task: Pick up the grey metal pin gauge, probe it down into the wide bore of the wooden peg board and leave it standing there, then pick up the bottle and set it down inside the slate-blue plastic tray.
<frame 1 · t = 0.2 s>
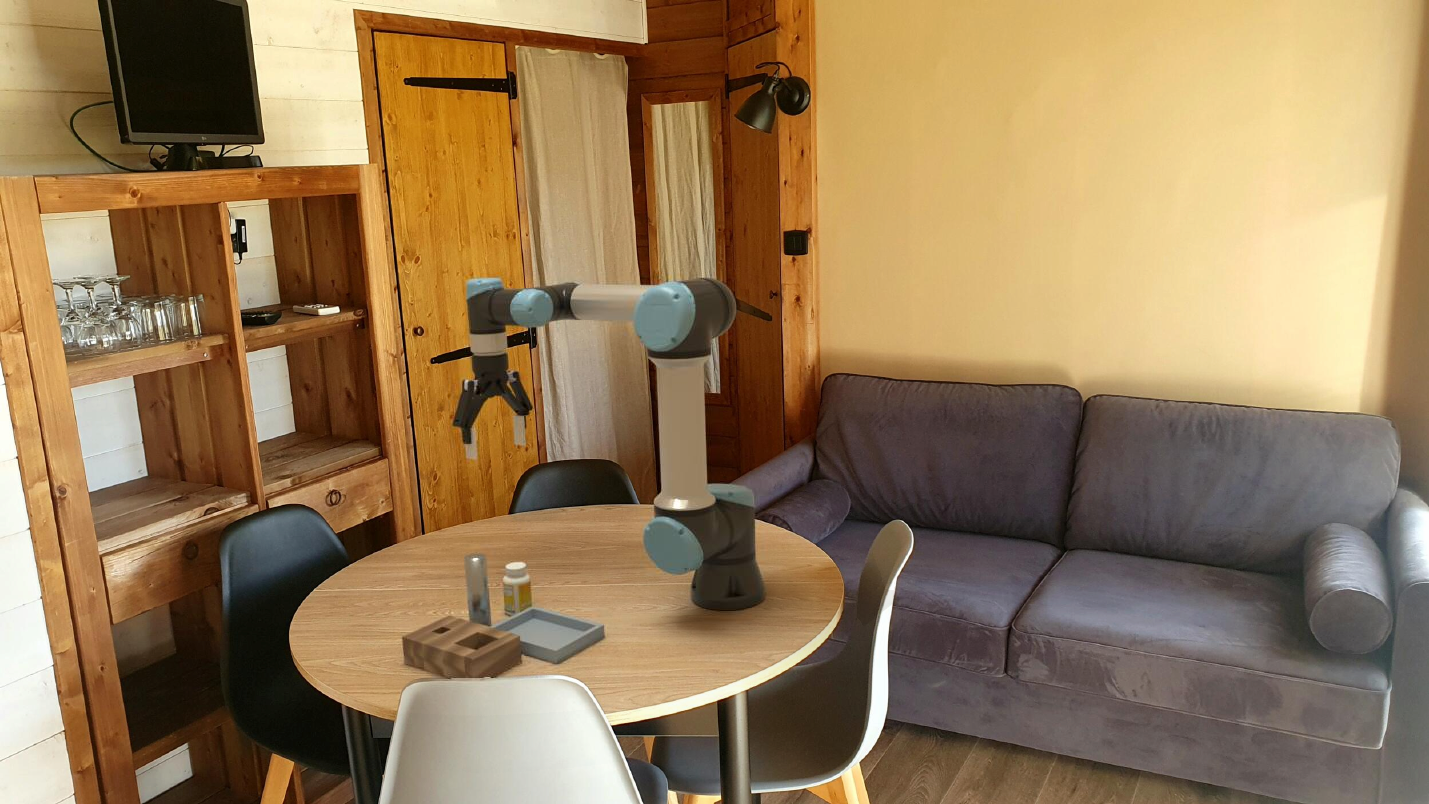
hand: (496, 451, 220), 28 cm above the table, fingers open, 13 cm apart
wooden peg board: (463, 662, 183), on the table
tray: (544, 639, 192), on the table
pin gauge: (481, 632, 196), on the table
supplement bottle: (518, 612, 206), on the table
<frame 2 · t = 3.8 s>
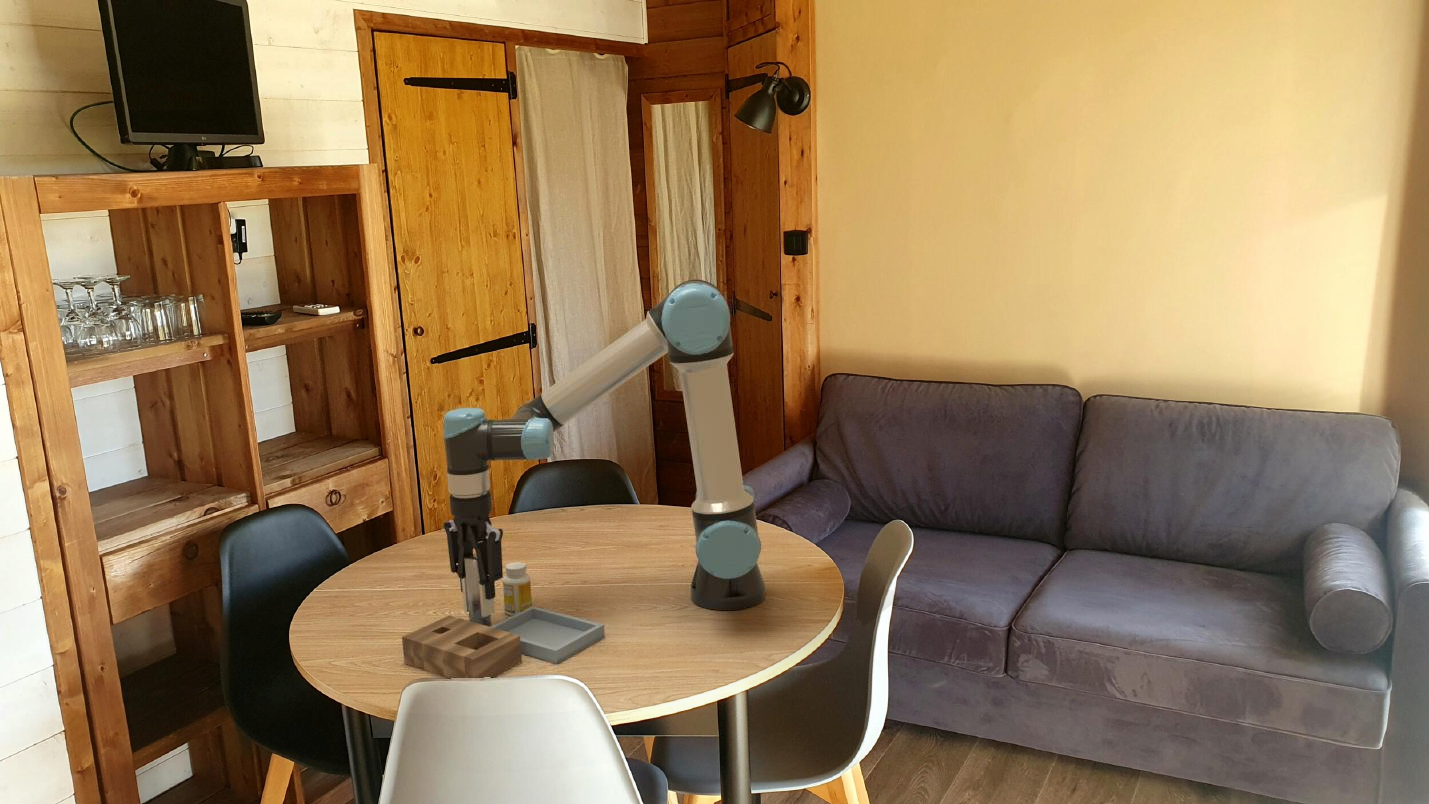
hand: (479, 611, 195), 4 cm above the table, fingers closed on pin gauge, 4 cm apart
pin gauge: (481, 632, 196), on the table, touching gripper
everything else where it was.
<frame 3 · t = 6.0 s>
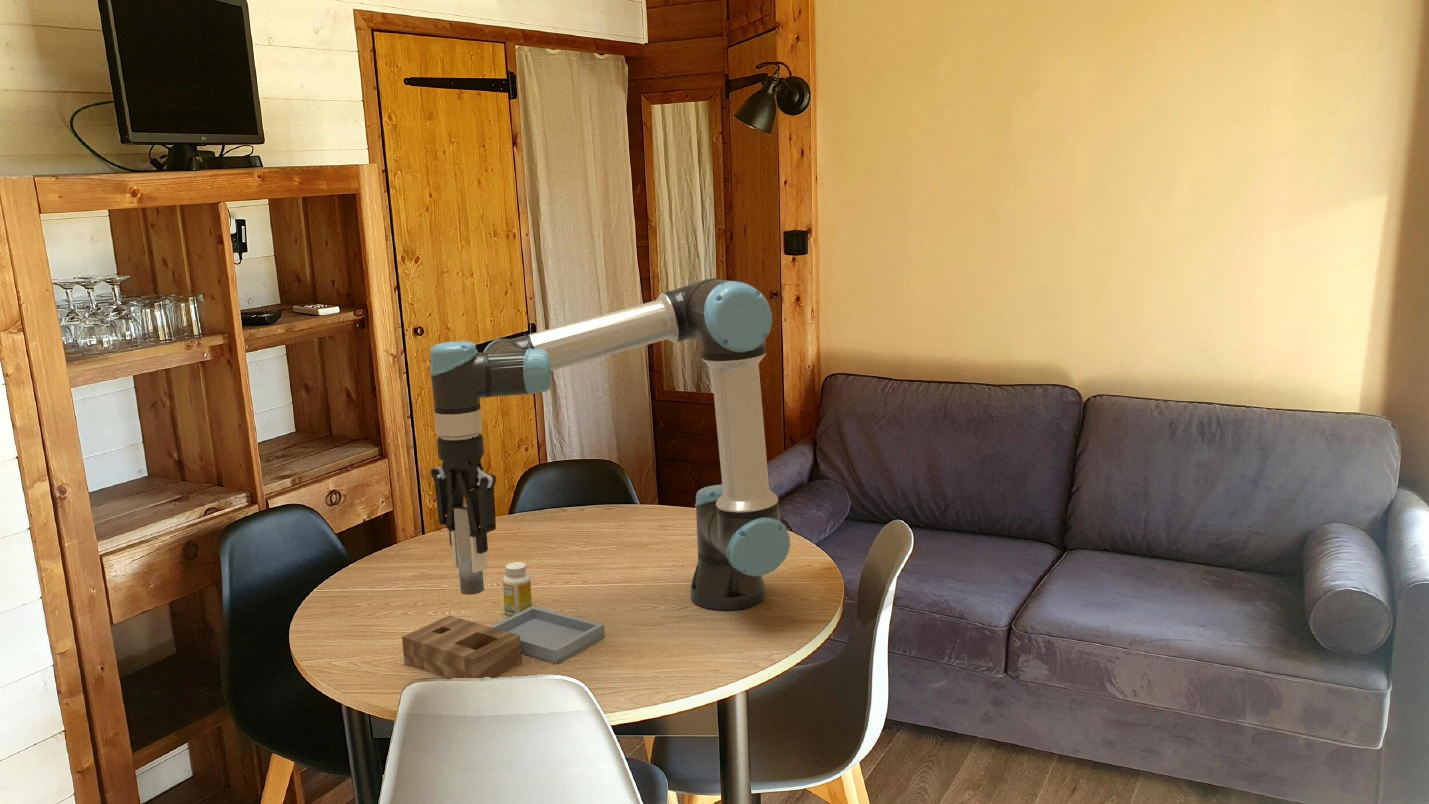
hand: (470, 567, 178), 18 cm above the table, fingers closed on pin gauge, 4 cm apart
pin gauge: (472, 590, 178), point 14 cm above the table, touching gripper
everything else where it was.
when the fingers open (7 cm above the table, at t = 8.3 s): pin gauge drops 2 cm, resting in wooden peg board.
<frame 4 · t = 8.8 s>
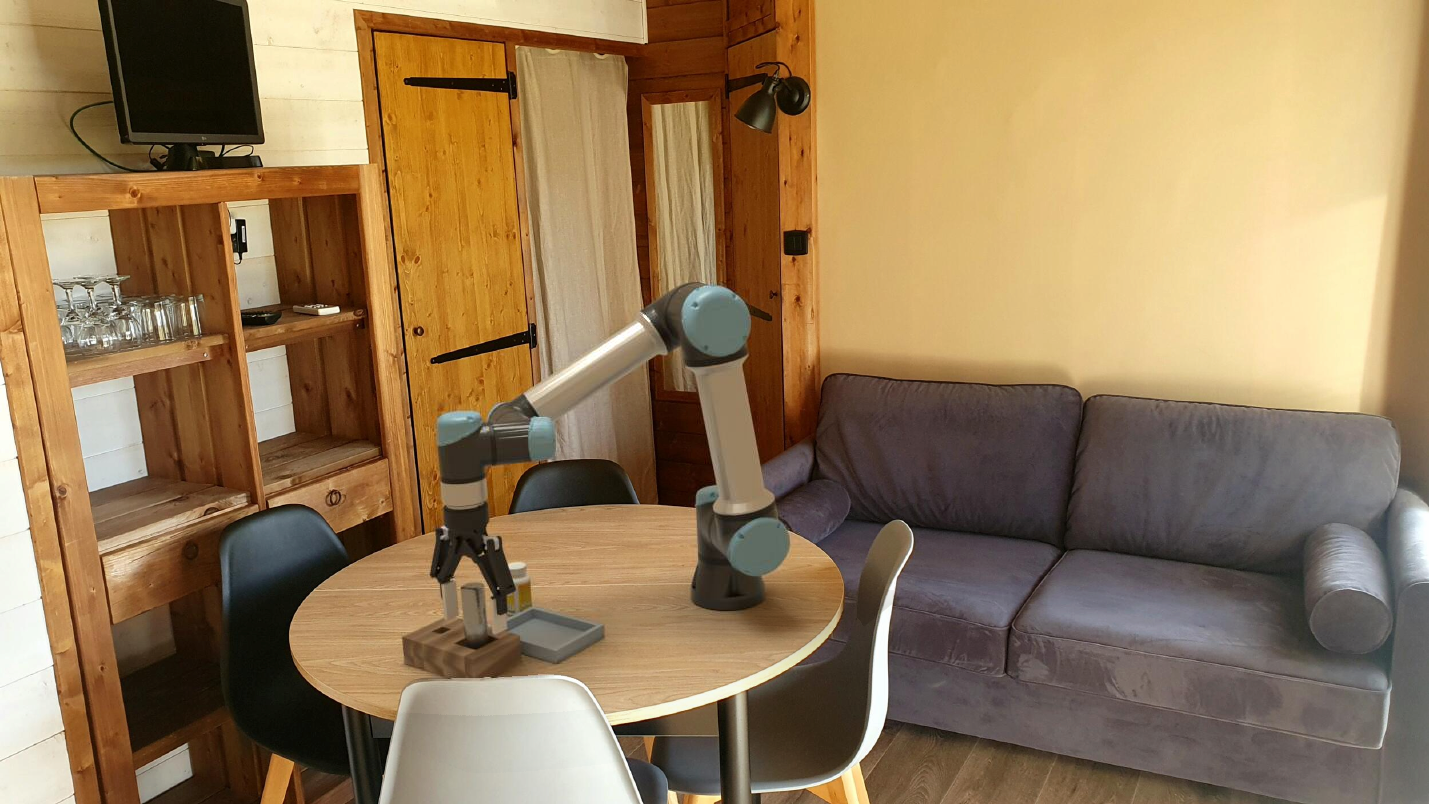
hand: (475, 624, 180), 8 cm above the table, fingers open, 11 cm apart
pin gauge: (479, 667, 181), resting in wooden peg board
everything else where it was.
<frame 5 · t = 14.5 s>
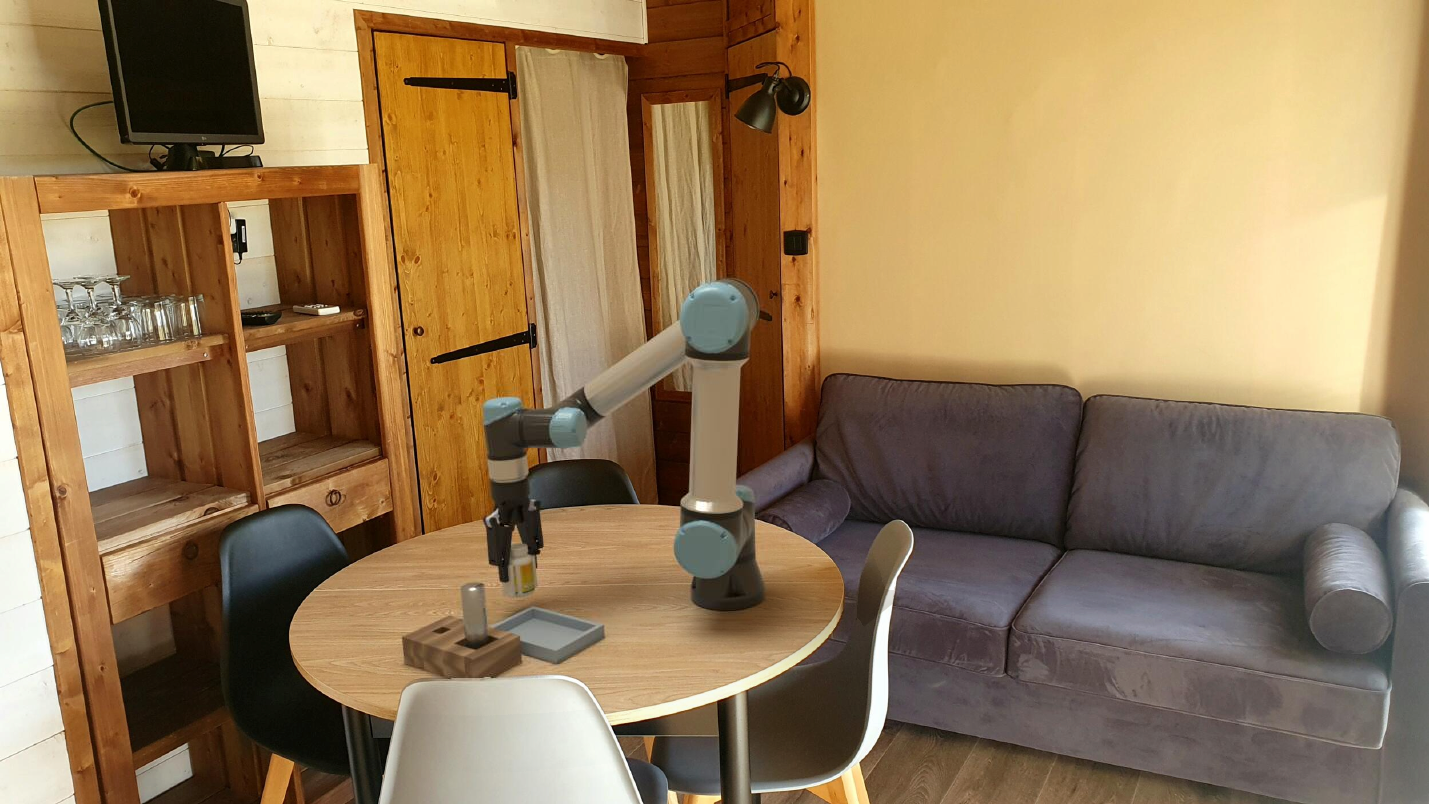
hand: (520, 591, 205), 4 cm above the table, fingers closed on supplement bottle, 5 cm apart
supplement bottle: (521, 593, 205), point 4 cm above the table, touching gripper
everything else where it was.
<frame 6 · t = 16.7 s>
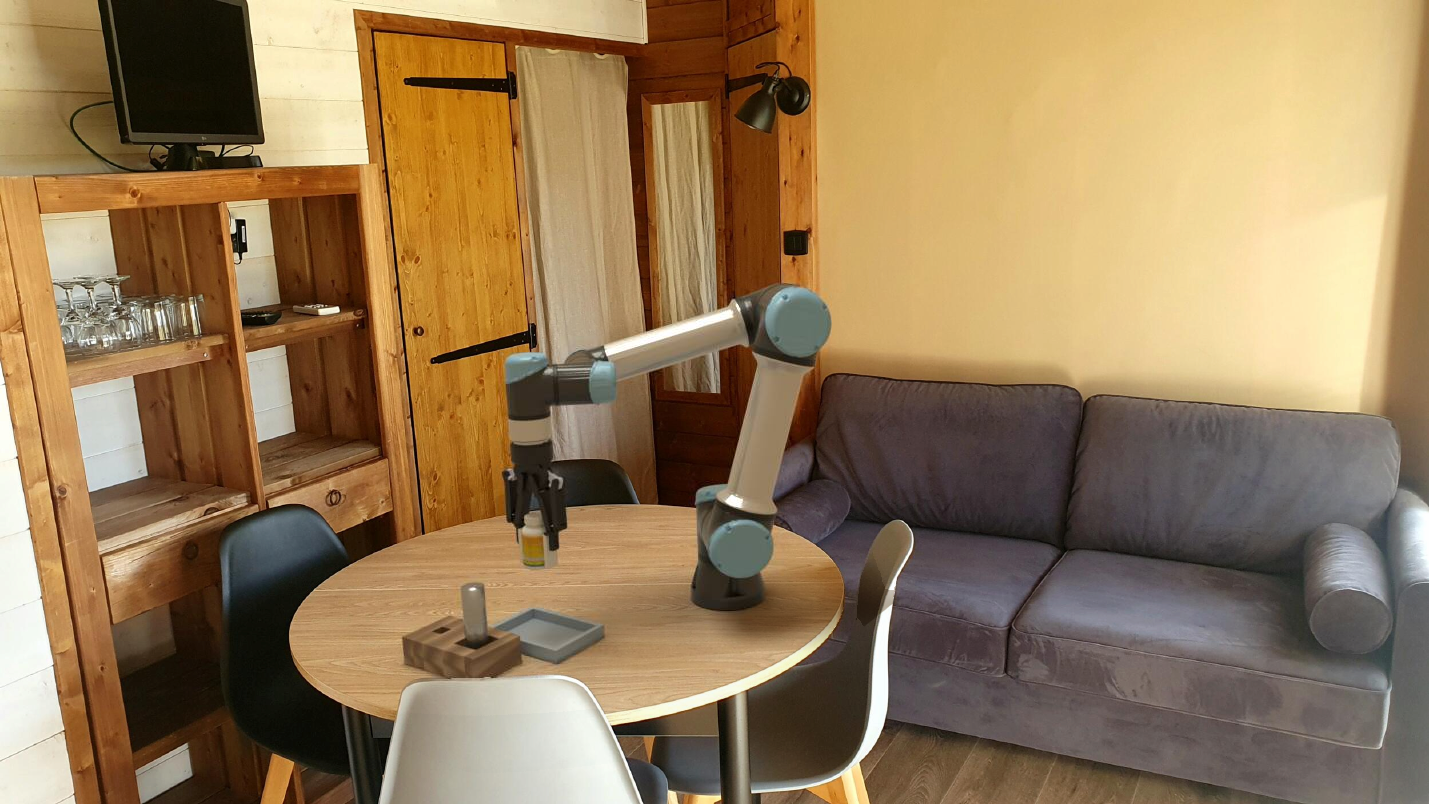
hand: (539, 563, 189), 15 cm above the table, fingers closed on supplement bottle, 5 cm apart
supplement bottle: (538, 566, 189), point 14 cm above the table, touching gripper
everything else where it was.
when the fingers open (2 cm above the table, at t = 19.2 s): supplement bottle stays where it is, resting on tray.
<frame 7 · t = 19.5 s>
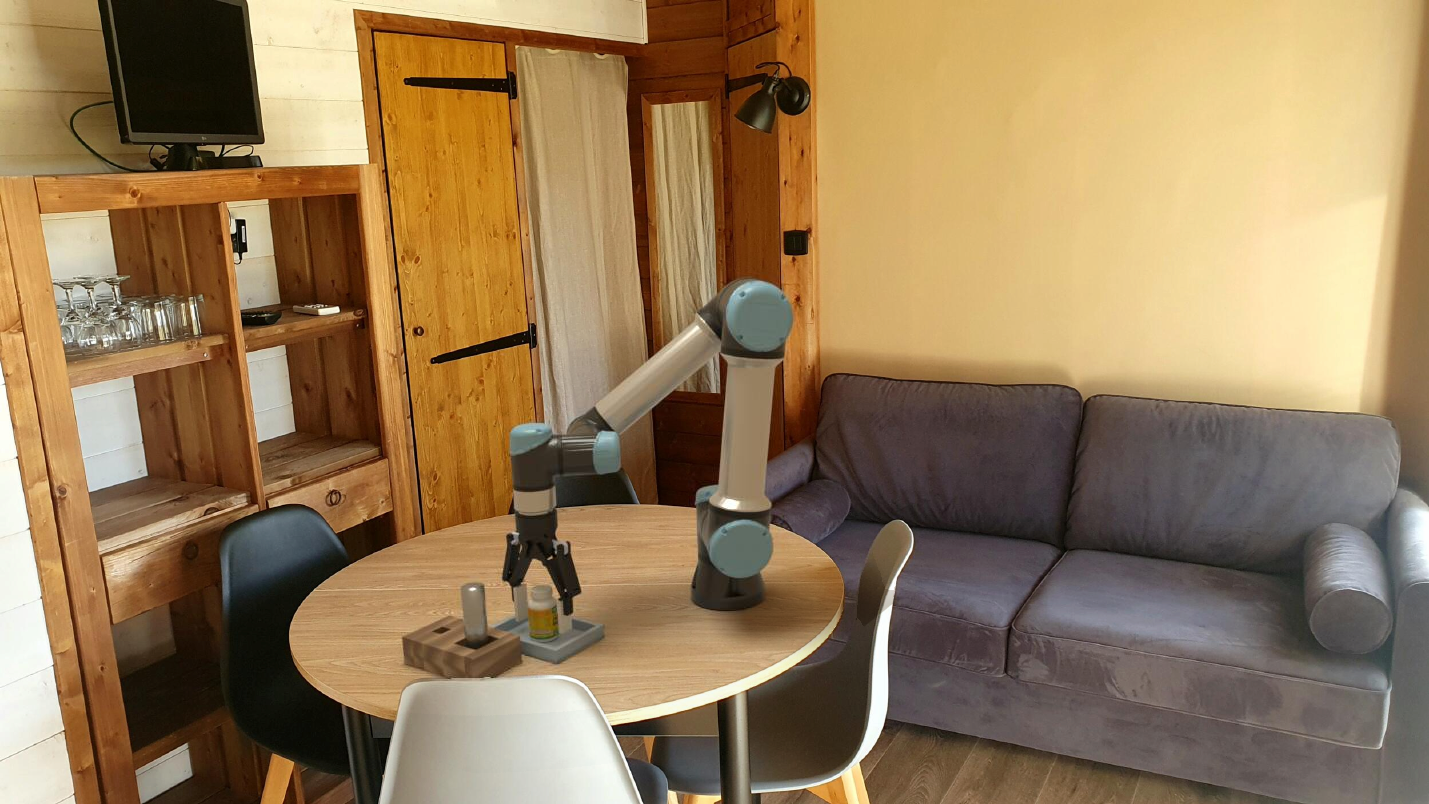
hand: (543, 624, 191), 3 cm above the table, fingers open, 10 cm apart
supplement bottle: (544, 638, 191), resting on tray
everything else where it was.
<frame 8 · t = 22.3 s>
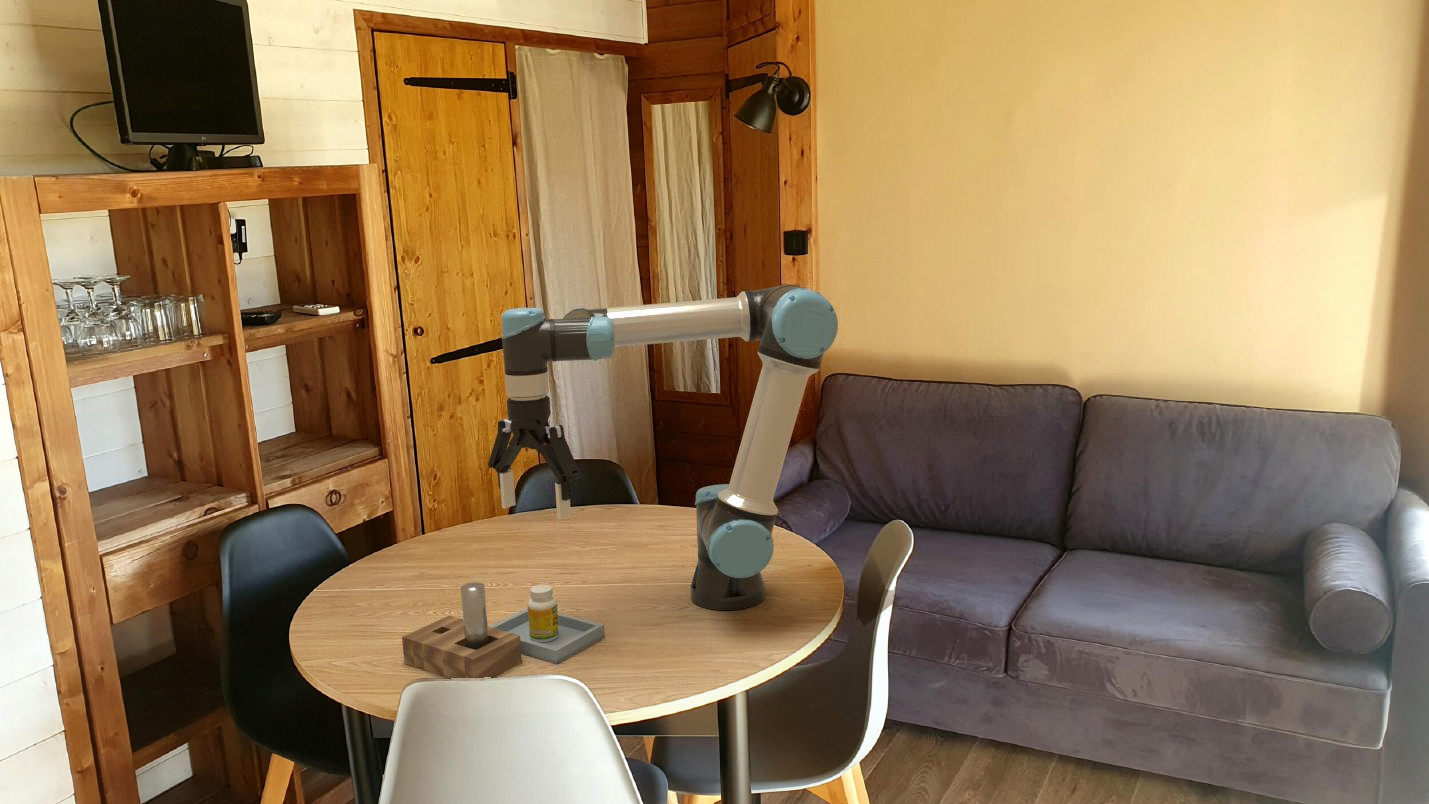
hand: (535, 511, 187), 25 cm above the table, fingers open, 13 cm apart
nothing on the table moved.
at the end: pin gauge 0.0 cm from the target spot on the wooden peg board, point 0.0 cm above the wooden peg board's base; supplement bottle inside the target area on the tray (0.3 cm from its centre), point 0.4 cm above the tray's base; supplement bottle tilted 0° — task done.
